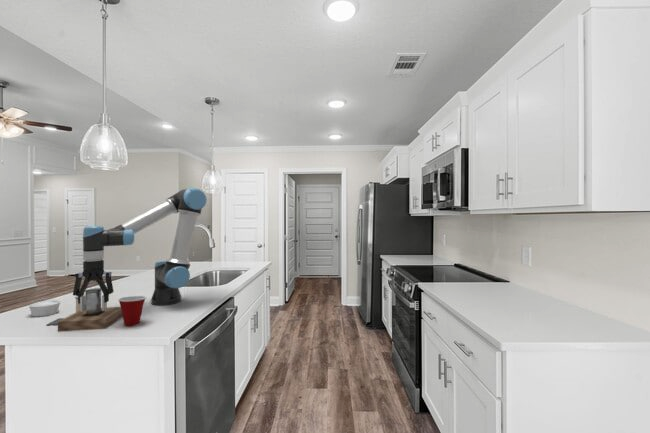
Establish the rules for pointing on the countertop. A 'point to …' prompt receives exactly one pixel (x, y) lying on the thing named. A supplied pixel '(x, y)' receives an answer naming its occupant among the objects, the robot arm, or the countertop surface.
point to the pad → (54, 322)
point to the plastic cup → (131, 309)
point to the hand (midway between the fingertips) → (93, 309)
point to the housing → (90, 320)
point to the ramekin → (44, 308)
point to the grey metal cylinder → (93, 302)
